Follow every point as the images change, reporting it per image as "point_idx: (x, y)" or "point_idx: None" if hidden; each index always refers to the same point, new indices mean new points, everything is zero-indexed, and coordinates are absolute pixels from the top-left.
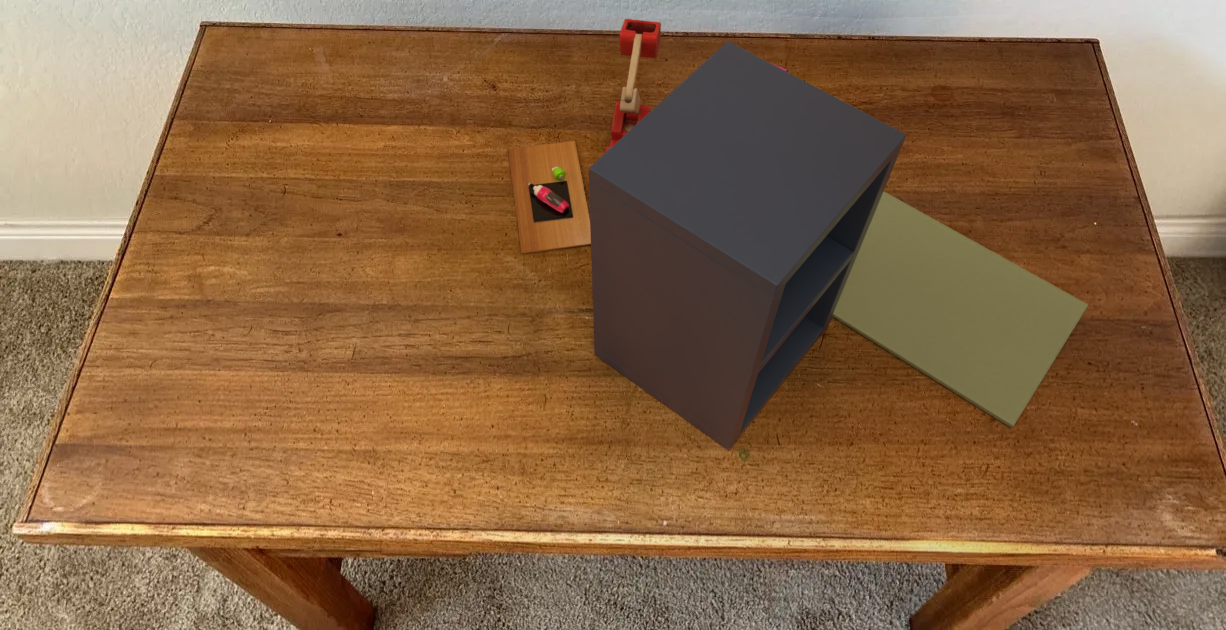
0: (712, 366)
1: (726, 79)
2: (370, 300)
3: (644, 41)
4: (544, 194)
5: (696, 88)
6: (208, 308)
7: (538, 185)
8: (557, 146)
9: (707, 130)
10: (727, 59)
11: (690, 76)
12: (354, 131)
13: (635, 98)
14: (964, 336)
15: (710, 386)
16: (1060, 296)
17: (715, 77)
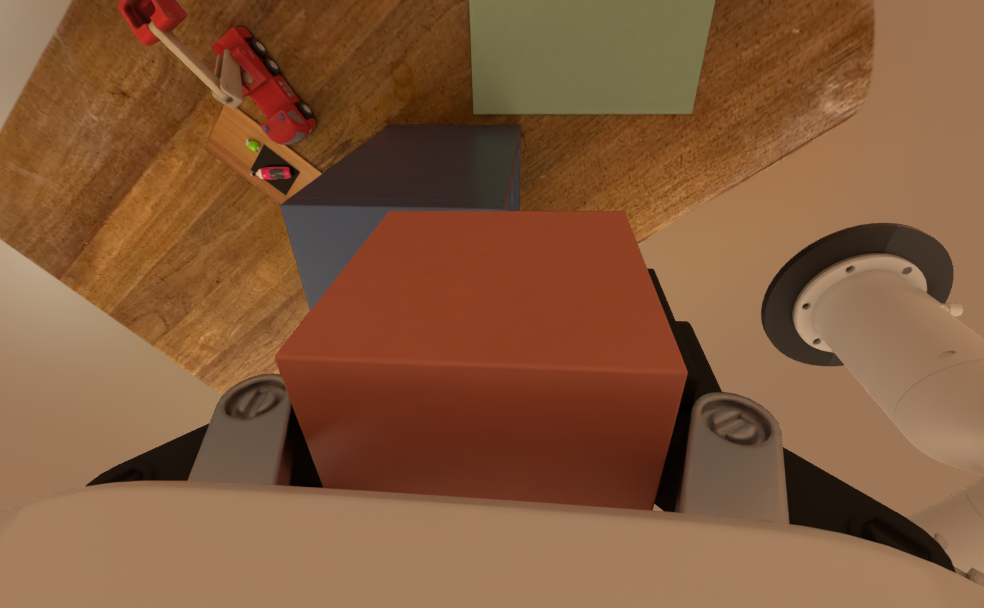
0: None
1: (324, 252)
2: (278, 303)
3: (164, 28)
4: (268, 177)
5: (315, 278)
6: (229, 354)
7: (255, 164)
8: (224, 116)
9: None
10: (302, 228)
11: (299, 268)
12: (124, 212)
13: (231, 94)
14: (626, 55)
15: None
16: None
17: (315, 256)
